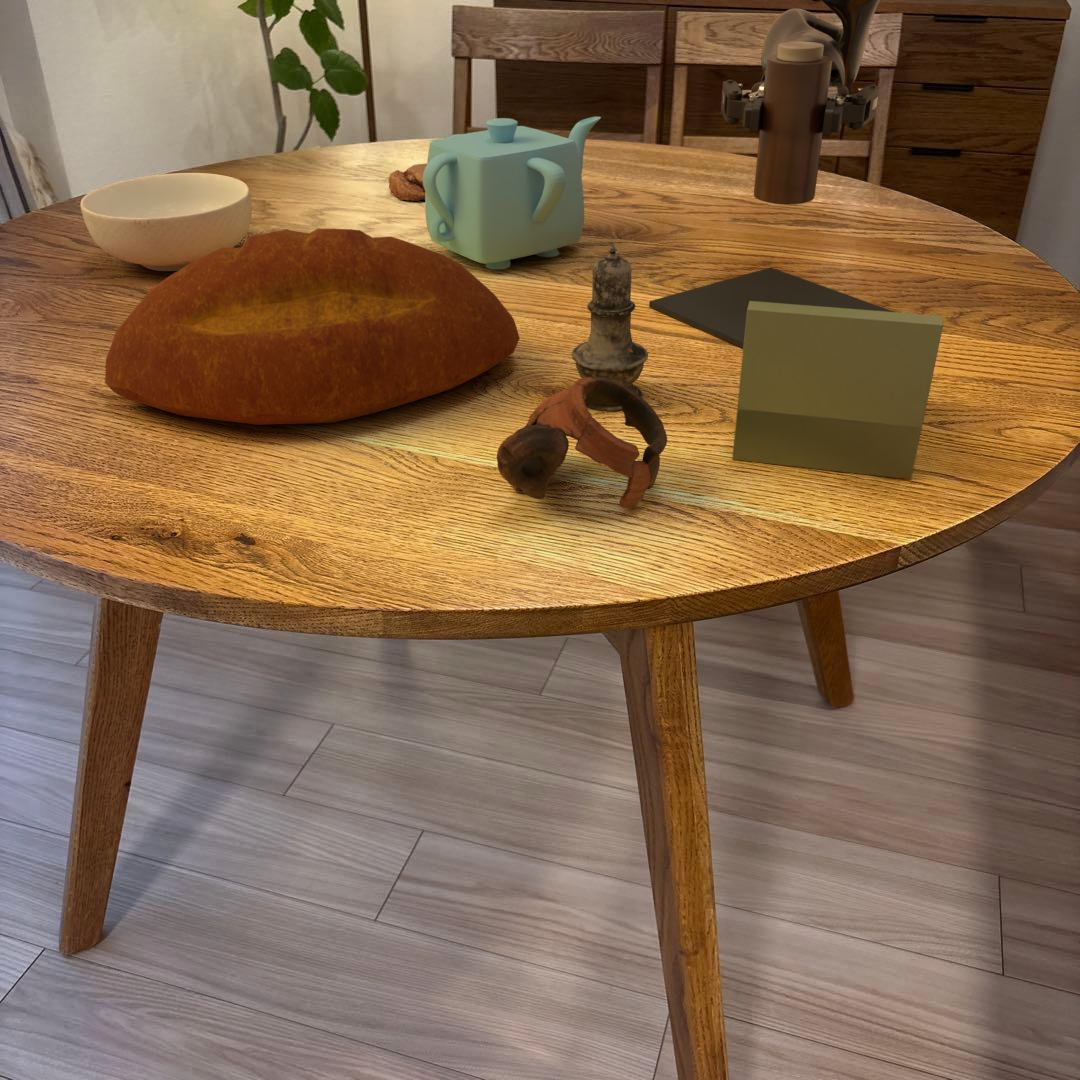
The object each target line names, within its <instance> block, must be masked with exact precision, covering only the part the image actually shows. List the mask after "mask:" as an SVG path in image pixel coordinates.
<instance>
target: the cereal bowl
mask: <svg viewBox="0 0 1080 1080" xmlns="http://www.w3.org/2000/svg"><path fill="white" fill-rule="evenodd" d="M252 203H253V202H252V196H251V191H250V188H249V186H248V185H247V184H246V183H245V182H244V181H242V180H241V179H238V178H236V177H232V176H228V175H222V174H216V173H206V172H176V173H175V172H174V173H161V174H154V175H147V176H141V177H140V176H139V177H135V178H130V179H125V180H122V181H121V180H120V181H117V182H113V183H111V184H107V185H104V186H102V187H99V188H97V189H94V190H92V191H91V192H88V193H87V194H86V195H84V196H83V197H82V198H81V200H80V212H81V214H82V219H83V221H84V223H85V227H86V229H87V231H88V233H89V235H90V237H91V238H92V240H93V241H94V242H95V244H96V245H97V246H98V247H99V248H100V249H102V250H103V251H104V252H105V253H107V254H108V255H110V256H112V257H113V258H116V259H117V260H122V261H123V262H126V263H130V264H135V265H140V266H142V267H144V268H145V269H148V270H152V271H157V272H177V271H179V270H180V269H182V268H183V267H185V266H187V265H188V264H190V263H191V262H193V261H195V260H197V259H199V258H201V257H203V256H206V255H208V254H210V253H212V252H214V251H217V250H219V249H221V248H235V246H237V245H238V244H239V243H240V242H241V241H242V240H243V239H244V237H245V236H246V234H247V232H248V230H249V228H250V225H251V222H252V215H253V214H252V213H253V207H252V206H253V205H252Z"/></svg>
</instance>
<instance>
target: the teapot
mask: <svg viewBox="0 0 1080 1080" xmlns="http://www.w3.org/2000/svg"><path fill="white" fill-rule="evenodd" d="M601 118H602V117H601V116H591V117H587V118H583V119H581V120H579V121H578V122H577V123H575V125H574V126H573V128H572V129H571V130H570V132H569V135H568V138H567V137H564V136H561V135H558V134H555V133H551V132H547V131H544V130H541V129H536V128H533V127H529V126H524V125H518V124H519V123H518V122H519V121H517V120H515V119H513V118H510V117H509V118H507V117H498V118H497V117H496V118H492V119H489V120H487V121H486V122H485V124H486V125H485V126H486V130H479V131H472V132H468V133H458V134H457V133H456V134H452V135H450V136H446V137H441V138H437V139H433V140H431V141H430V142H429V145H428V153H427V161H426V164H427V166H426V168H425V170H424V173H423V185H424V189H425V199H424V201H425V202H424V207H425V210H424V211H425V222H426V227H427V230H428V234H429V237H430V239H431V241H432V242H433V243H434V244H435V243H436V244H437V245H439V246H441V247H442V248H444V249H447V250H449V251H451V252H453V253H454V254H457V255H460V256H462V257H465V258H467V259H469V260H471V261H475V262H477V263H479V264H484V266H485V268H487V269H489V270H505V269H508V268H510V267H511V264H512V263H511V260H514V259H520V258H524V257H529V256H532V255H536V256H537V257H540V258H554V257H557V256H559V255H560V251H559V248H563V247H566V246H569V245H573V244H575V243H578V242H579V241H580V240H581V237H582V234H583V229H584V225H585V199H584V187H583V179H582V175H583V174H582V173H583V164H584V151H585V144H586V141H587V137H588V135H589V133H590V131H591V129H592V128H593V127H594V126H595V125H596V124H597V123H598V122H599V121H600V120H601Z"/></svg>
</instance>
